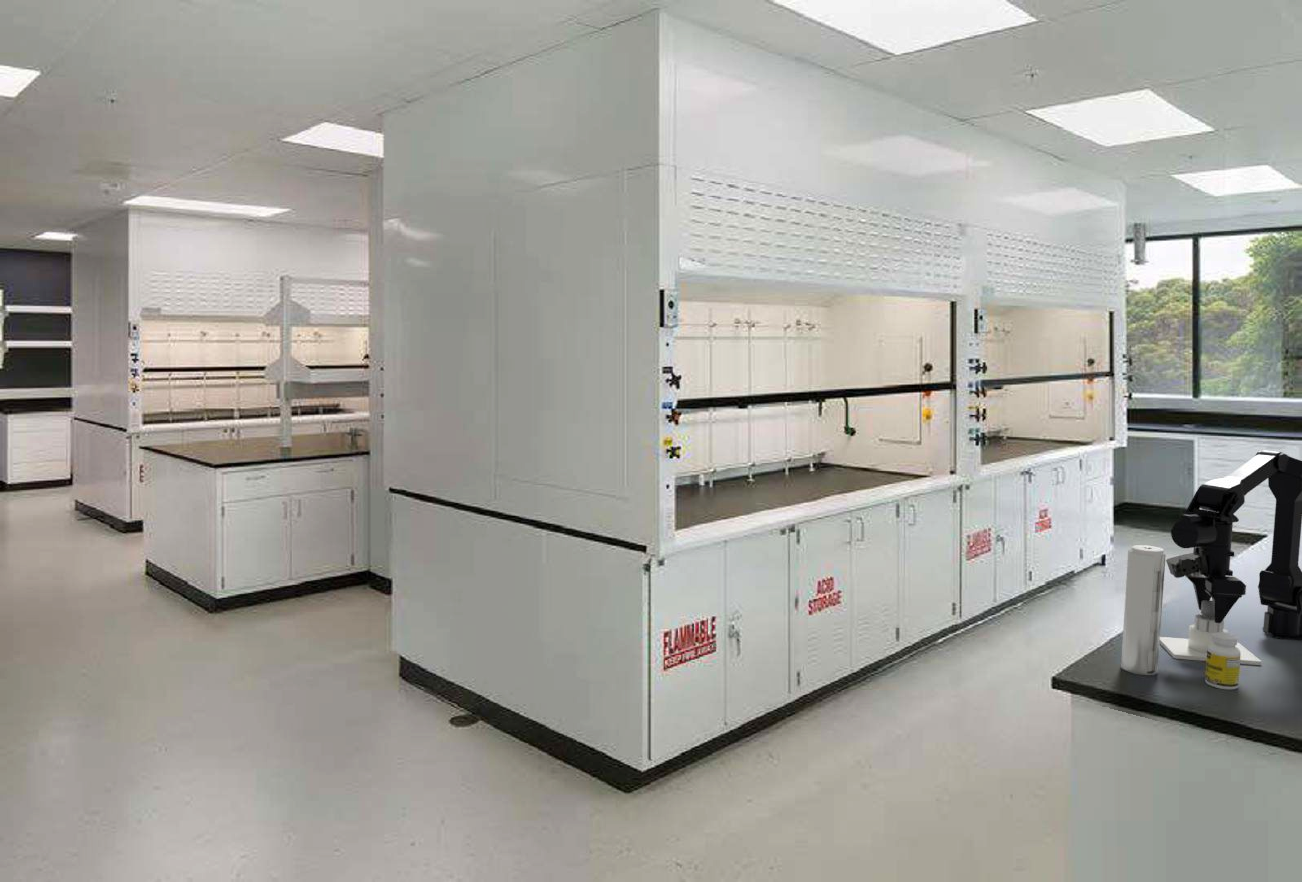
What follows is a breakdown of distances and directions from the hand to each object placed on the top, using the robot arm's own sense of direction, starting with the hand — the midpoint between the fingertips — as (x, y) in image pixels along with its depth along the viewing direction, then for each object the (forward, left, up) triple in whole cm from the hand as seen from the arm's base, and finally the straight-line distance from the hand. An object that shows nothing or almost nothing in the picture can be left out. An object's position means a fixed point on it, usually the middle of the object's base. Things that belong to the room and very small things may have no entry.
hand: (1209, 616), depth 189 cm
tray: (0, 0, -8) cm, 8 cm away
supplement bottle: (+4, +20, -8) cm, 22 cm away
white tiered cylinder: (0, 0, -8) cm, 8 cm away
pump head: (0, 0, -3) cm, 3 cm away
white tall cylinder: (+17, +15, -8) cm, 24 cm away
